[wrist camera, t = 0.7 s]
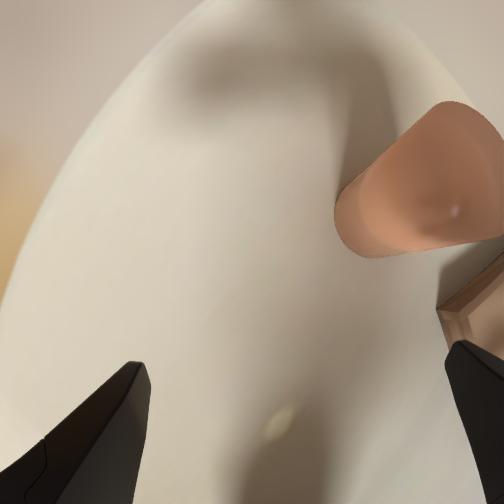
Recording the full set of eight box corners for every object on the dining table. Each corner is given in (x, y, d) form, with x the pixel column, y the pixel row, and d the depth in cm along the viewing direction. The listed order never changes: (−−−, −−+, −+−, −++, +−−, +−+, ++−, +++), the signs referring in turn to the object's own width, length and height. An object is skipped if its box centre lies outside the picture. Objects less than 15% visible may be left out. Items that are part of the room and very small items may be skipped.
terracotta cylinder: (417, 236, 21) (532, 205, 9) (357, 272, 21) (467, 266, 9) (382, 168, 22) (475, 92, 10) (319, 198, 21) (393, 118, 9)
